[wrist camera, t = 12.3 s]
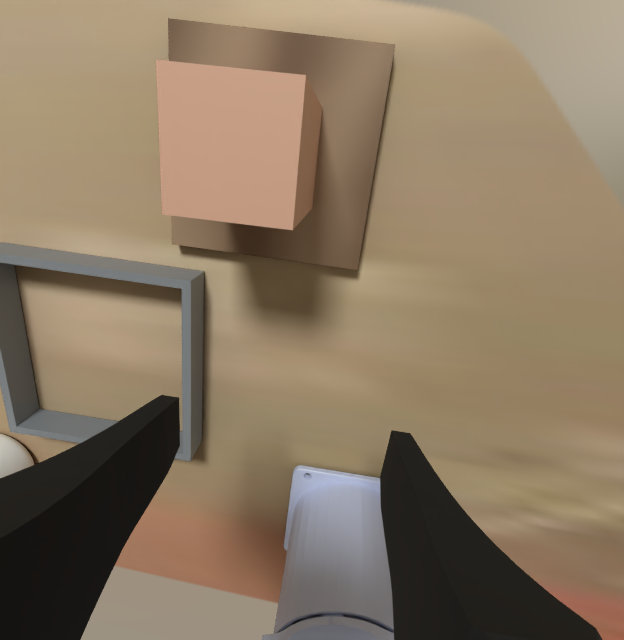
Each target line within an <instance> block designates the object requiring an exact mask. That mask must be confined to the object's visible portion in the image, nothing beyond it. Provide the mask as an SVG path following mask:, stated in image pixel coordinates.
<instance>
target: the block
mask: <svg viewBox="0 0 624 640" xmlns="http://www.w3.org/2000/svg"><path fill="white" fill-rule="evenodd" d="M156 68H157V93H158V119H159V144H160V169H161V195H162V214H163V215H171V216H180V217H188V218H196V219H204V220H212V221H221V222H229V223H237V224H245V225H253V226H262V227H270V228H278V229H286V230H293V229H294V228H295V227H296V226H297V225H298V224H299V223H300V222H301V220H302V219H303V218H304V217H305V216H306V215H307V214H308V213H309V211H310V210H311V209H312V205H313V195H314V185H315V175H316V165H317V156H318V146H319V136H320V126H321V116H322V106H321V104H320V102H319V100H318V98H317V96H316V94H315V92H314V90H313V88H312V86H311V84H310V82H309V80H308V78H307V76H306V75H300V74H291V73H281V72H271V71H261V70H252V69H242V68H232V67H223V66H213V65H203V64H193V63H184V62H174V61H164V60H156Z"/></svg>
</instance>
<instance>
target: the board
mask: <svg viewBox="0 0 624 640" xmlns="http://www.w3.org/2000/svg"><path fill="white" fill-rule="evenodd" d="M168 35H169V61H174V62H184V63H193V64H203V65H213V66H223V67H232V68H242V69H252V70H261V71H271V72H281V73H291V74H300V75H306V76H307V78H308V80H309V82H310V84H311V86H312V88H313V90H314V92H315V94H316V96H317V98H318V100H319V102H320V104H321V106H322V116H321V126H320V136H319V146H318V156H317V165H316V175H315V185H314V195H313V205H312V209H311V210H310V211H309V213H308V214H307V215H306V216H305V217H304V218H303V219H302V220H301V222H300V223H299V224H298V225H297V226H296V227H295V228H294V229H293V230H286V229H278V228H270V227H262V226H253V225H245V224H237V223H229V222H221V221H212V220H204V219H196V218H188V217H180V216H172V244H175V245H182V246H189V247H196V248H203V249H210V250H217V251H224V252H232V253H239V254H246V255H253V256H260V257H267V258H274V259H282V260H289V261H296V262H303V263H310V264H317V265H324V266H332V267H339V268H346V269H353V270H358V264H359V258H360V252H361V246H362V240H363V234H364V228H365V222H366V216H367V210H368V204H369V198H370V192H371V186H372V181H373V175H374V169H375V163H376V157H377V151H378V145H379V139H380V133H381V127H382V121H383V115H384V109H385V103H386V97H387V91H388V85H389V79H390V73H391V67H392V61H393V55H394V49H395V44H386V43H378V42H369V41H360V40H352V39H343V38H334V37H325V36H317V35H308V34H299V33H291V32H282V31H273V30H265V29H256V28H247V27H239V26H230V25H221V24H212V23H204V22H195V21H186V20H178V19H169V18H168Z"/></svg>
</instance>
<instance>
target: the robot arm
mask: <svg viewBox="0 0 624 640" xmlns="http://www.w3.org/2000/svg"><path fill="white" fill-rule="evenodd" d="M179 447H180V424H179V398H178V397H171V396H165V395H161V396H159V397H157V398H156V399H154V400H152V401H151V402H149V403H147V404H146V405H144V406H143V407H141V408H140V409H138V410H136V411H135V412H133V413H132V414H130V415H128V416H127V417H125V418H124V419H122V420H120V421H119V422H117V423H115V424H114V425H112V426H110V427H109V428H107V429H105V430H103V431H102V432H100V433H98V434H96V435H94V436H93V437H91V438H89V439H87V440H85V441H84V442H82V443H80V444H78V445H76V446H74V447H72V448H70V449H68V450H66V451H64V452H62V453H60V454H58V455H56V456H53V457H51V458H49V459H47V460H45V461H42V462H40V463H38V464H35V465H33V466H30V467H28V468H25V469H23V470H20V471H18V472H15V473H13V474H10V475H8V476H5V477H2V478H0V640H80V639H81V637H82V634H83V632H84V630H85V628H86V625H87V623H88V621H89V619H90V616H91V614H92V612H93V610H94V608H95V606H96V603H97V601H98V599H99V597H100V595H101V592H102V590H103V588H104V586H105V584H106V582H107V580H108V578H109V575H110V573H111V571H112V569H113V567H114V565H115V563H116V561H117V559H118V557H119V555H120V553H121V551H122V549H123V547H124V545H125V543H126V542H127V540H128V538H129V536H130V535H131V533H132V531H133V530H134V528H135V526H136V525H137V523H138V521H139V520H140V518H141V516H142V515H143V513H144V512H145V510H146V508H147V507H148V505H149V503H150V502H151V500H152V498H153V497H154V495H155V494H156V492H157V490H158V489H159V487H160V485H161V484H162V482H163V480H164V479H165V477H166V475H167V473H168V471H169V469H170V467H171V465H172V463H173V461H174V458H175V456H176V454H177V451H178V449H179ZM305 473H309V474H310V475H307V474H305ZM284 549H285V550H286V551H287V555H286V561H285V567H284V573H283V579H282V585H281V591H280V597H279V603H278V609H277V615H276V622H275V628H274V634H270V635H263V636H262V640H602V638H601V636H600V635H599V633H598V631H597V630H596V628H595V627H593V626H592V625H591V624H589V623H588V622H587V621H585V620H584V619H583V618H581V617H580V616H579V615H577V614H576V613H575V612H573V611H572V610H571V609H570V608H568V607H567V606H566V605H564V604H563V603H562V602H560V601H559V600H558V599H556V598H555V597H554V596H552V595H551V594H550V593H549V592H548V591H546V590H545V589H544V588H543V587H542V586H540V585H539V584H538V583H537V582H536V581H534V580H533V579H532V578H531V577H530V576H529V575H527V574H526V573H525V572H524V571H523V570H522V569H521V568H520V567H518V566H517V565H516V564H515V563H514V562H513V561H512V560H511V559H510V558H509V557H508V556H507V555H506V554H505V553H504V552H502V551H501V550H500V549H499V548H498V547H497V546H496V545H495V544H494V543H493V542H492V541H491V540H490V539H489V538H488V537H487V536H486V535H485V533H484V532H483V531H482V530H481V529H480V528H479V527H478V526H477V525H476V524H475V522H474V521H473V520H472V519H471V518H470V517H469V516H468V515H467V513H466V512H465V511H464V510H463V509H462V508H461V506H460V505H459V504H458V502H457V501H456V500H455V499H454V497H453V496H452V495H451V493H450V492H449V491H448V489H447V488H446V487H445V485H444V484H443V482H442V481H441V480H440V478H439V477H438V475H437V474H436V472H435V471H434V469H433V468H432V466H431V465H430V463H429V462H428V460H427V459H426V457H425V456H424V454H423V453H422V451H421V449H420V448H419V446H418V445H417V443H416V441H415V440H414V438H413V437H412V435H411V434H410V433H405V432H398V431H391V435H390V439H389V443H388V447H387V451H386V456H385V460H384V464H383V468H382V472H381V476H380V478H376V477H369V476H363V475H357V474H351V473H345V472H339V471H333V470H326V469H320V468H314V467H308V466H302V465H299V466H296V467H295V468H294V471H293V477H292V485H291V492H290V500H289V508H288V516H287V523H286V531H285V539H284Z"/></svg>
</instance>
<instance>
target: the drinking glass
mask: <svg viewBox="0 0 624 640" xmlns="http://www.w3.org/2000/svg"><path fill="white" fill-rule="evenodd" d="M33 465H35V464H34V461H33V459H32V457H31V455H30V453H29V452H28V451H27V449H26V448H25V447H24V446H23V445H22V444H20V443H19V442H18V441H16V440H15V439H13V438H11V437H9V436H7V435H4V434H1V433H0V478H2V477H5V476H8V475H10V474H13V473H15V472H18V471H20V470H23V469H25V468H28V467H30V466H33Z"/></svg>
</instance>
